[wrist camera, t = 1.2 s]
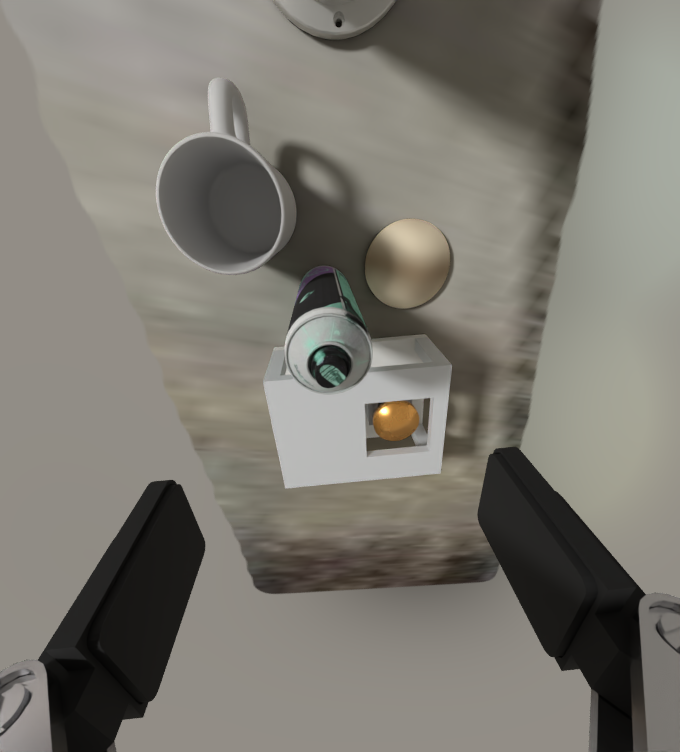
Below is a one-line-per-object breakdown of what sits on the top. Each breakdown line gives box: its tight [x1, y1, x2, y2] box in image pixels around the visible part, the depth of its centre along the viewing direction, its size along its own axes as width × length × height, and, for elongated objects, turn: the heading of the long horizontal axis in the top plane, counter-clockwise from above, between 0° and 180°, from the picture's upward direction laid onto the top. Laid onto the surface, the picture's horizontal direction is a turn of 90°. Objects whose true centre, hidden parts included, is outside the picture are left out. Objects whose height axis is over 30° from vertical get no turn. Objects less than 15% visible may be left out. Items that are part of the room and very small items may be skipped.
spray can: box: [284, 266, 373, 395], centre depth 26 cm, size 6×6×20 cm
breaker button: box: [372, 400, 419, 441], centre depth 36 cm, size 5×5×4 cm
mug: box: [156, 78, 297, 275], centre depth 25 cm, size 12×8×11 cm
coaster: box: [365, 219, 450, 309], centre depth 33 cm, size 9×9×1 cm
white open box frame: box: [263, 334, 452, 488], centre depth 37 cm, size 14×18×8 cm
